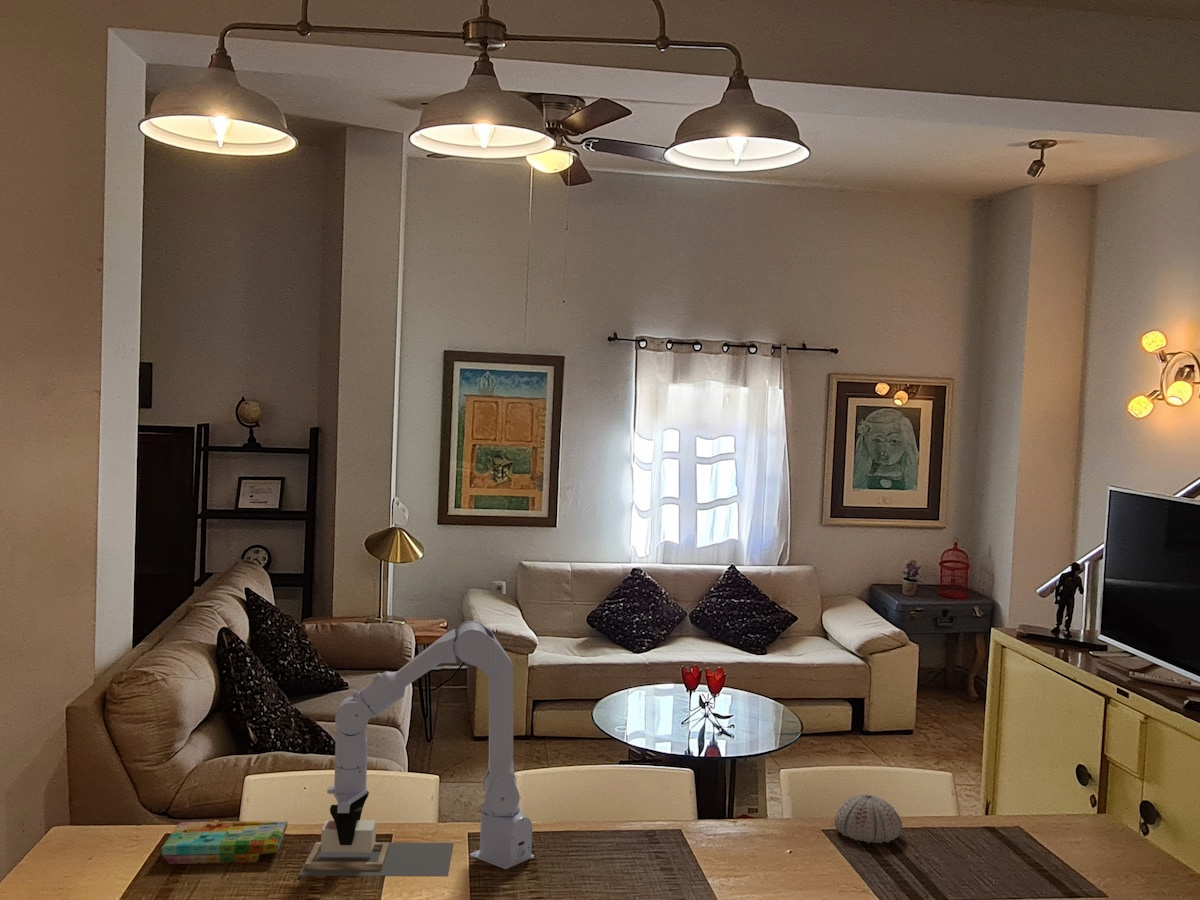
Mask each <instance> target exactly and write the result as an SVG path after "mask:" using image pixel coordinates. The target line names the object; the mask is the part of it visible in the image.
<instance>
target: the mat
mask: <svg viewBox="0 0 1200 900" xmlns="http://www.w3.org/2000/svg"><path fill="white" fill-rule="evenodd" d="M315 844H316V842H315V843H314V844H313V847H312V849H311V850H310V851H309V852H310V853H311V852H312V850H313V848H314V846H315ZM454 845H455V843H454V842H392V841H391V842H389V850H388V853H387V856H386V859H385V862H384V865H383V868H382V870H305V863H306V861H307V859H308V857H309V855H310V853H309V855H307V858H306V861H305V862H304V864H303V866H302V868H301V870H300V872H299V874H298V879H303V877H305V876H306V877H309V876H310V877H315V876H316V877H319V876H320V877H321V876H322V877H323V876H324V877H325V876H327V877H328V876H329V877H449V873H450V867H451V862H452V861H451V860H452V857H453V850H454ZM380 852H381V850H372V852H321V850H320V852H319V854H318V856H317V858H316V860H315V862H377V861H378V858H379V855H380Z"/></svg>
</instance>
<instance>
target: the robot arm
mask: <svg viewBox="0 0 1200 900" xmlns="http://www.w3.org/2000/svg"><path fill="white" fill-rule="evenodd" d="M457 657H458V659H460V660H461V661H462V662H463V663H466V664H469V665H471V666H474V667H477V668H478V669H479V670H480V671H482V672H483V673H484V674H485V675H486V676H487V677H488V762H487V763H488V767H487V771H486V773H485V776H484V778H483V781H482V784H483V785H482V786H483V789H484V796H485V797H484V802H483V803H482V804H481V806H480V807H481V808H480V840H479V849H478V850H476V851H473V852H470V853H469V856H470V857H473V858H476V859H477V860H480V861H484V862H486V863H488V864H491V865H494V866H497V867H499V868H500V869H504V870H507V869H510V868H513V867H515V866H517V865H518V864H521V863H524V862H525V861H528V860H530V859H531V860H533V859H534V858H535V855H534V854H533V851H532V850H533V845H532V844H533V824H532V821H531V819H530V818H528V817H527V816H525V815H524V814H523V813H522V811H521V806H520V804H519V803H520V797H521V796H520V792H519V789H518V786H517V777H516V775H515V768H514V767H515V766H514V666H513V661H512V660H511V658H510V656H509V655H508V653H507V652H506V650H505V649H504V648H503V646H502V644H501V643H500V642H499V640H498V639H497V638H496V636H495V634H494V633H493V631H492V630H491V629H489V627H487V626H485V625H484V624H482V623H481V622H479V621H477V620H467V621H464V622H462V623H461V624H459V626H458V627H457V629H456V628H453V629H451V630H449V631H448V632H447V633H444V634H443V635H442V636H440V637H439V638H438V639H436V640H435V641H434V642H432V644H430V645H429V646H427V647H426V648H425V649H424V650H422V651H421V652H420V653H419V654H417V655H415V657H414V658H412V659H411V660H409V662H407V663H406V664H404V666H402V667H401V668H399V669H398V670H397V671H387V670H386V671H384V672H382V673H380V672H377V673H375V674H374V675H373V677H372V679H373V680H372V681H370V682H369V683H368V684H366V685H365V686H363V687H362V688H361V689H359V690H357V689H355V690H353V692H351V696H348V697H345V698H344V699H343V700H342V701H341V702H339V703H340V704H339V706H338V707H337V710H336V713H335V718H334V720H335V726H336V728H337V729H336V739H335V747H334V748H335V751H334V782H333V785H334V786H329V787H328V788H327V789H326V790H327V794H330V795H333V796H334V798H335V800H336V802H337V804H331V806H330V807H329V812H330V815H331V817H332V820H334V821H335V824H336V827H337V833H338V838H339V843H340V845H352V842H353V839H354V834H355V828H356V823H357V820H361V816H362V814H363V813H362V812H363V809H364V805H365V802H366V801H367V798H368V797H369V796H370V791H368V786H367V777H368V776H367V773H368V772H367V770H368V746H369V745H368V742H369V741H368V740H369V739H368V737H367V732H368V731H367V729H368V724H369V720H370V719H373V718H378V716H380V715H381V714H383V713H384V712H385V711H387V710H388V709H389V708H390V707H392V706H393V705H395V704H396V703H397V702H399V701H400V700H401V699H403V698H404V697H405V694H406V693H405V691H406V687H407V686H409V685H410V684H412V683H413V682H415V681H417V679H419V678H421V677H422V676H423V675H425V674H427V673H428V672H429V671H431V670H433V669H434V668H436V667H437V666H438V665H440V664H442V663H443V664H457V662H458V660H457Z"/></svg>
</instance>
